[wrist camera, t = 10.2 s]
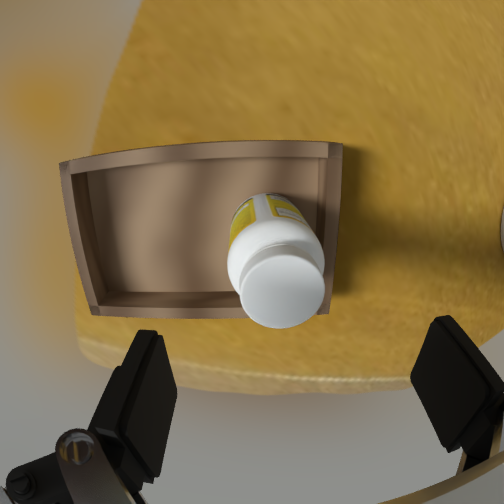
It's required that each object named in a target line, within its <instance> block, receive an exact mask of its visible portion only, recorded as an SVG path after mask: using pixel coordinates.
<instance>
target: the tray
mask: <svg viewBox="0 0 504 504" xmlns="http://www.w3.org/2000/svg"><path fill="white" fill-rule="evenodd" d="M342 151H343V144H342V143H335V142H325V141H300V140H243V141H217V142H200V143H187V144H175V145H165V146H155V147H147V148H139V149H131V150H124V151H117V152H111V153H104V154H98V155H93V156H87V157H82V158H78V159H73V160H69V161H65V162H61V163H59V168H60V176H61V184H62V192H63V198H64V205H65V210H66V216H67V221H68V227H69V231H70V236H71V241H72V245H73V250H74V254H75V258H76V262H77V266H78V270H79V274H80V278H81V281H82V285H83V288H84V292H85V295H86V298H87V301H88V305H89V308H90V311H91V314H92V315H98V316H115V317H138V318H180V319H221V318H250V317H249V316H248V315H247V313H246V312H245V311H244V309H243V307H242V304H241V301H240V295H239V294H238V293H237V292H236V290H235V289H234V287H233V285H232V283H231V281H230V278H229V275H228V269H227V259H228V250H229V241H230V229H231V222H232V219H233V216H234V213H235V211H236V210H237V208H238V207H239V206H240V205H241V204H242V203H243V202H244V201H245V200H247V199H248V198H250V197H252V196H254V195H257V194H262V193H273V194H277V195H280V196H283V197H285V198H287V199H288V200H289V201H291V202H292V203H293V204H294V205H295V206H296V207H297V209H298V210H299V211H300V213H301V214H302V216H303V217H304V219H305V220H306V222H307V223H308V225H309V226H310V228H311V229H312V231H313V232H314V234H315V235H316V237H317V238H318V240H319V242H320V244H321V247H322V250H323V254H324V260H325V265H324V272H323V278H324V283H325V294H324V298H323V301H322V303H321V306H320V307H319V309H318V310H317V311H316V313H315V314H314V315H321V314H329V309H330V302H331V294H332V286H333V278H334V269H335V260H336V250H337V239H338V227H339V214H340V199H341V180H342Z"/></svg>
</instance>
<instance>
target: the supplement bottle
mask: <svg viewBox="0 0 504 504" xmlns="http://www.w3.org/2000/svg"><path fill="white" fill-rule="evenodd" d="M324 265H325V260H324V254H323V250H322V247H321V244H320V242H319V240H318V238H317V237H316V235H315V234H314V232H313V231H312V229H311V228H310V226H309V225H308V223H307V222H306V220H305V219H304V217H303V216H302V214H301V213H300V211H299V210H298V209H297V207H296V206H295V205H294V204H293V203H292V202H291V201H289V200H288V199H287V198H285V197H283V196H280V195H277V194H273V193H262V194H257V195H254V196H252V197H250V198H248V199H247V200H245V201H244V202H243V203H242V204H241V205H240V206H239V207H238V208H237V210H236V211H235V213H234V216H233V219H232V222H231V229H230V241H229V250H228V259H227V269H228V275H229V278H230V281H231V283H232V285H233V287H234V289H235V290H236V292H237V293H238V294H239V295H240V301H241V304H242V307H243V309H244V311H245V312H246V313H247V315H248V316H249V317H250V318H251V319H252V320H254V321H255V322H257V323H259V324H261V325H263V326H266V327H270V328H289V327H293V326H296V325H299V324H301V323H303V322H305V321H306V320H308V319H309V318H310V317H311V316H313V315H314V314H315V313H316V311H317V310H318V309H319V307H320V306H321V303H322V301H323V298H324V294H325V283H324V278H323V272H324Z"/></svg>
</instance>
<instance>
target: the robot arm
mask: <svg viewBox="0 0 504 504" xmlns="http://www.w3.org/2000/svg"><path fill="white" fill-rule="evenodd" d="M501 243H502V248H503V252H504V208H503V213H502V221H501ZM410 379H411V382H412V384H413V386H414V388H415V390H416V392H417V394H418V396H419V398H420V400H421V402H422V404H423V406H424V408H425V410H426V412H427V415H428V417H429V419H430V421H431V423H432V425H433V427H434V429H435V431H436V434H437V436H438V438H439V440H440V442H441V445H442V446H443V447H445V448H446V450H447V452H448V453H450V452H452V451H455V450H457V449H459V448H460V447H461V446H462V449H463V452H462V456H461V459H460V463H459V466H458V469H457V472H456V475H455V476H453V477H451V478H449V479H447V480H444V481H442V482H440V483H437V484H435V485H432V486H430V487H427V488H425V489H422V490H419V491H416V492H414V493H411V494H408V495H405V496H402V497H399V498H395V499H392V500H389V501H386V502H382V503H378V504H504V393H503V392H504V382H503V381H502V379H501V378H500V377H499V375H498V374H497V372H496V371H495V370H494V368H493V367H492V366H491V365H490V363H489V362H488V361H487V359H486V358H485V357H484V355H483V354H482V353H481V351H480V350H479V349H478V348H477V346H476V345H475V344H474V343H473V341H472V340H471V339H470V338H469V337H468V335H467V334H466V333H465V332H464V331H463V329H462V328H461V327H460V326H459V325H458V323H457V322H456V321H455V320H454V319H453V318H452V317H451V316H450V315H446V316H439V317H436V318H435V319H434V321H433V322H432V323H431V324H430V327H429V329H428V332H427V335H426V338H425V340H424V343H423V345H422V348H421V351H420V353H419V355H418V358H417V360H416V363H415V365H414V367H413V370H412V372H411V376H410ZM176 399H177V387H176V384H175V380H174V377H173V373H172V370H171V366H170V363H169V359H168V355H167V351H166V347H165V343H164V339H163V336H162V335H158V333H157V331H155V330H138V332H137V334H136V336H135V338H134V340H133V342H132V344H131V346H130V348H129V350H128V352H127V354H126V356H125V359H124V361H123V363H122V365H121V366H117V367H116V368H115V370H114V371H113V373H112V375H111V378H110V380H109V382H108V384H107V386H106V388H105V391H104V393H103V395H102V397H101V399H100V401H99V404H98V406H97V409H96V411H95V413H94V415H93V417H92V420H91V422H90V424H89V427H88V429H87V430H85V429H79V428H75V429H71V430H68V431H67V432H64V434H62V435H61V436H60V437H59V439H58V440H57V442H56V446H55V452H54V453H52V454H49V455H47V456H44V457H42V458H39V459H37V460H34V461H32V462H29V463H26V464H24V465H21V466H18V467H16V468H14V469H12V471H11V472H10V473H9V474H8V476H7V479H6V487H5V488H3V487H2V486H0V504H148V503H147V501H146V500H145V498H144V497H143V495H142V494H141V492H140V490H142V486H143V482H146V483H151V484H153V481H154V477H159V475H160V473H161V468H162V463H163V457H164V453H165V448H166V444H167V439H168V434H169V430H170V425H171V421H172V417H173V412H174V408H175V403H176Z"/></svg>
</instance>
